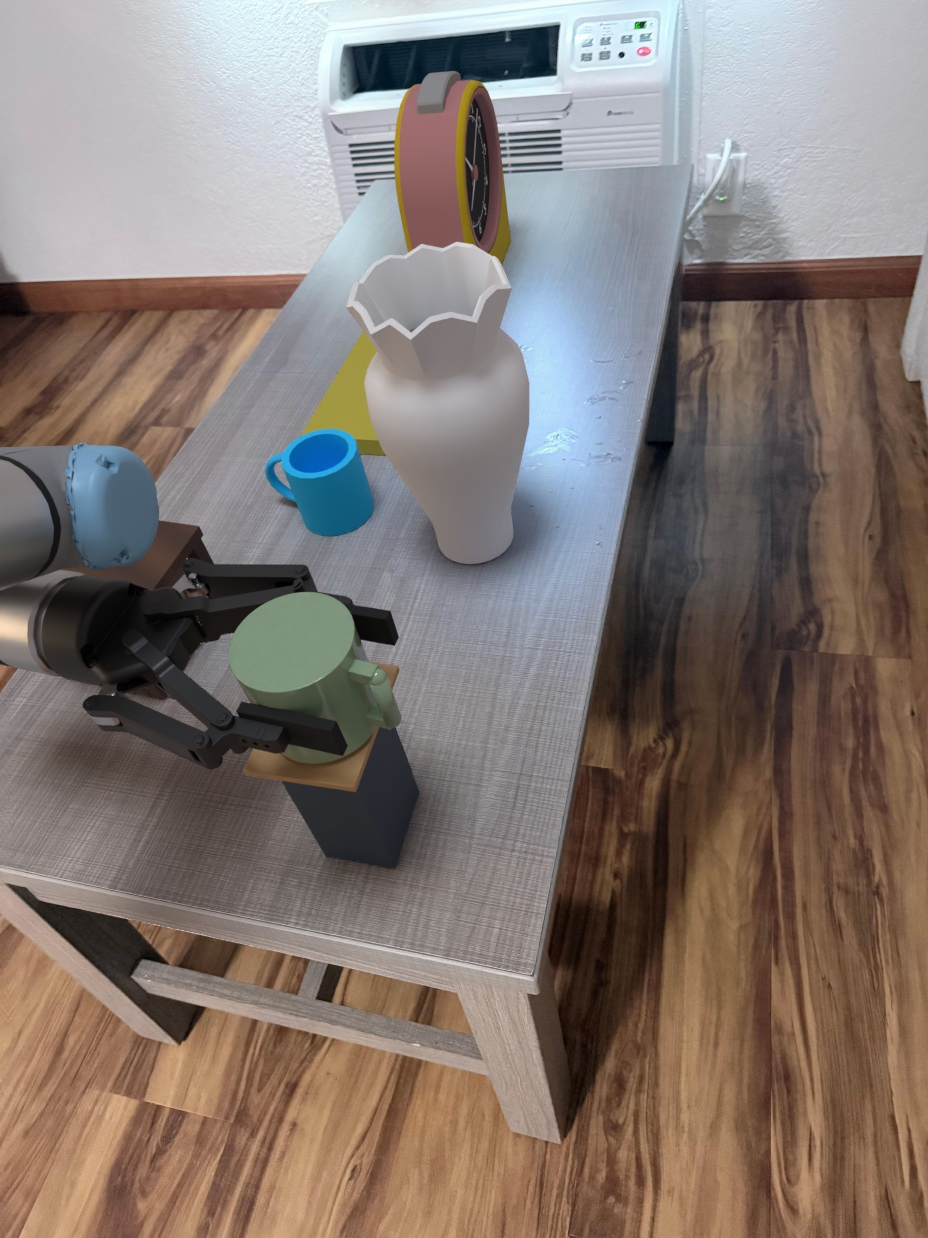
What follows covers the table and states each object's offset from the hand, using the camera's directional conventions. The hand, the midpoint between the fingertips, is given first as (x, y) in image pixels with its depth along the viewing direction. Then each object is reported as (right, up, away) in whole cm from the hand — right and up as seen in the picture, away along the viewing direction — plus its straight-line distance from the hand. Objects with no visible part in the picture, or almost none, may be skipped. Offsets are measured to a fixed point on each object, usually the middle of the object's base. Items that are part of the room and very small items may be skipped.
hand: (367, 681), depth 55 cm
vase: (+7, +12, +37) cm, 40 cm away
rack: (-26, +2, +35) cm, 43 cm away
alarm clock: (+7, +54, +74) cm, 92 cm away
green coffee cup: (-2, -3, +5) cm, 6 cm away
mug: (-10, +16, +44) cm, 48 cm away
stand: (-1, -13, +17) cm, 21 cm away
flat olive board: (-4, +33, +57) cm, 66 cm away
